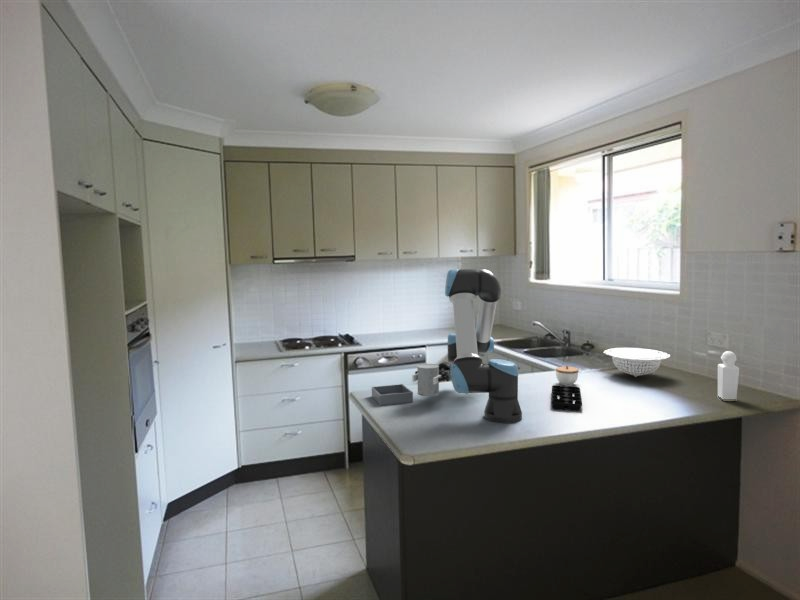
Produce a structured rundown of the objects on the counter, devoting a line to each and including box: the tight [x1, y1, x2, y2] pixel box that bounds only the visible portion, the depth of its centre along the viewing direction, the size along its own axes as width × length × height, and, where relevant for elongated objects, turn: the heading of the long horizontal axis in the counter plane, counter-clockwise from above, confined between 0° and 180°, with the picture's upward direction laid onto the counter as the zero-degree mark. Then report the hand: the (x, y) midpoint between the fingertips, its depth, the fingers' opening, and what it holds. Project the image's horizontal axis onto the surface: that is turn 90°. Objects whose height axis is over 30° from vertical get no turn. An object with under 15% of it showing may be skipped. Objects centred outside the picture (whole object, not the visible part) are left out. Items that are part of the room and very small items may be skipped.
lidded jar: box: [555, 365, 579, 386], centre depth 266 cm, size 11×11×9 cm
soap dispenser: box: [717, 350, 740, 400], centre depth 234 cm, size 6×6×22 cm
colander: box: [603, 347, 671, 378], centre depth 277 cm, size 32×32×13 cm
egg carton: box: [550, 384, 583, 412], centre depth 237 cm, size 18×30×4 cm, turn 175°
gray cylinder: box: [416, 363, 440, 397], centre depth 233 cm, size 10×10×12 cm
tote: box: [371, 383, 414, 406], centre depth 243 cm, size 15×15×4 cm
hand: (423, 379), depth 229 cm, fingers closed on gray cylinder, 9 cm apart
